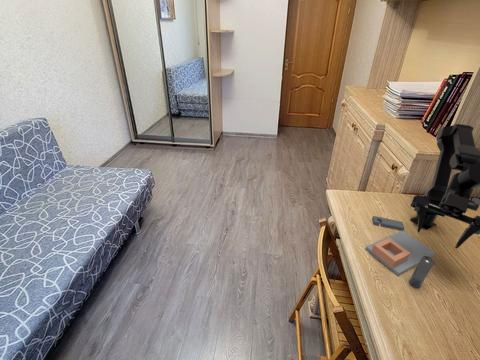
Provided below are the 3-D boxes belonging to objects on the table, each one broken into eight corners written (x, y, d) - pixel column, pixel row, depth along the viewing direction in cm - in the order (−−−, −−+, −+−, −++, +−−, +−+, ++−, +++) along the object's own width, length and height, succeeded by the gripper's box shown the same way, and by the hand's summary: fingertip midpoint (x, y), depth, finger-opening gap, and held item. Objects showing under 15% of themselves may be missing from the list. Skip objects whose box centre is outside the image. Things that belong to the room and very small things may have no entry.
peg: (412, 278, 78) (426, 254, 73) (422, 285, 76) (437, 262, 71) (406, 281, 77) (419, 258, 72) (416, 289, 75) (430, 266, 69)
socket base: (401, 232, 95) (405, 223, 93) (434, 255, 86) (440, 246, 84) (364, 249, 87) (368, 240, 85) (397, 276, 78) (402, 266, 76)
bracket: (403, 232, 96) (405, 228, 95) (372, 225, 99) (374, 221, 98) (400, 225, 100) (402, 221, 98) (371, 219, 102) (373, 215, 101)
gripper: (426, 170, 74) (403, 219, 72) (513, 196, 64) (488, 253, 62) (420, 183, 83) (400, 226, 82) (496, 208, 73) (474, 258, 71)
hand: (436, 239), depth 74 cm, fingers open, 9 cm apart
